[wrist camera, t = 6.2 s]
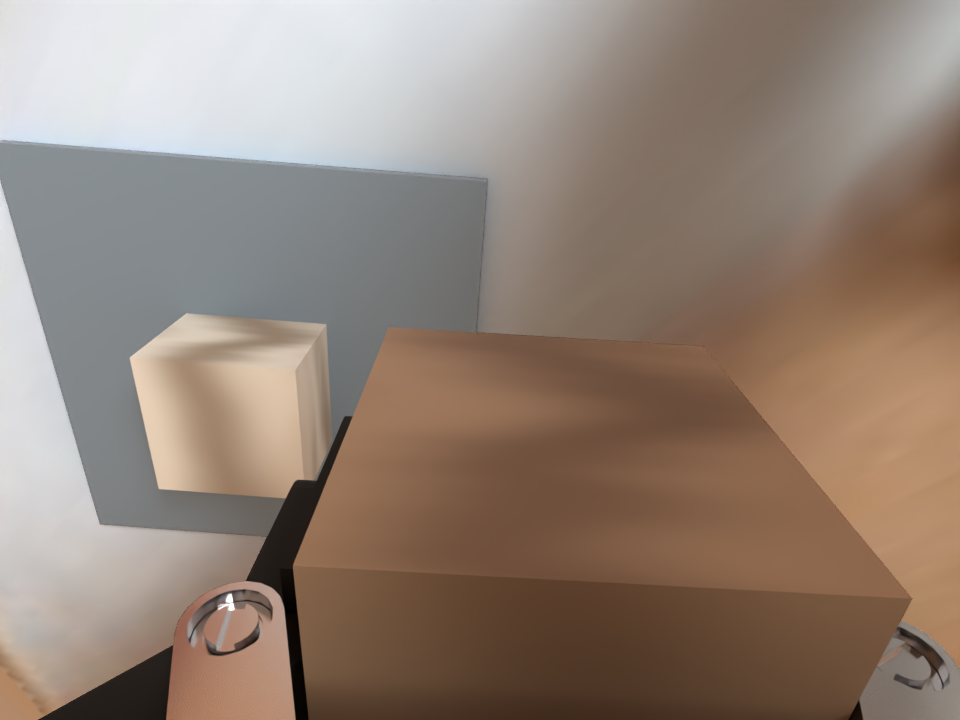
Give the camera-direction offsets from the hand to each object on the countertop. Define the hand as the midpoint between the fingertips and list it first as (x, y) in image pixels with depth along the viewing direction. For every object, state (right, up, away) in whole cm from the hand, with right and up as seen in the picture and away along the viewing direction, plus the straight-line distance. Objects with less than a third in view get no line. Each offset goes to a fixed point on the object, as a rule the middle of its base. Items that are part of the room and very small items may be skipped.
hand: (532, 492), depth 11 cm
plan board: (-12, +2, +20) cm, 23 cm away
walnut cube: (0, 0, +1) cm, 1 cm away
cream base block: (-12, +2, +19) cm, 23 cm away
